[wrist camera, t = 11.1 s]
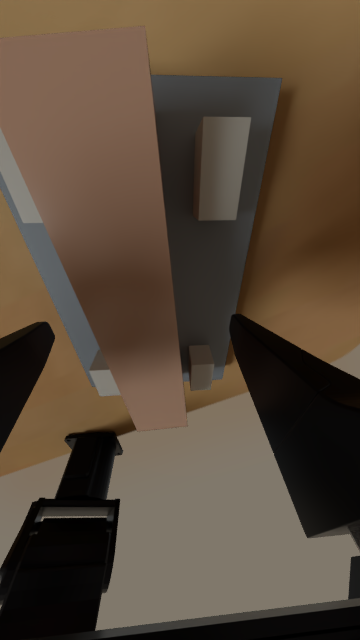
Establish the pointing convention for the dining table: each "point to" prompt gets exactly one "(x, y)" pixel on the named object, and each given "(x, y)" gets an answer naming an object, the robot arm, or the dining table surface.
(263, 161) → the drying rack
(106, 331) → the clay strip
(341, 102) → the dining table surface
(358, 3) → the dining table surface
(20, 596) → the robot arm
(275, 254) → the dining table surface
